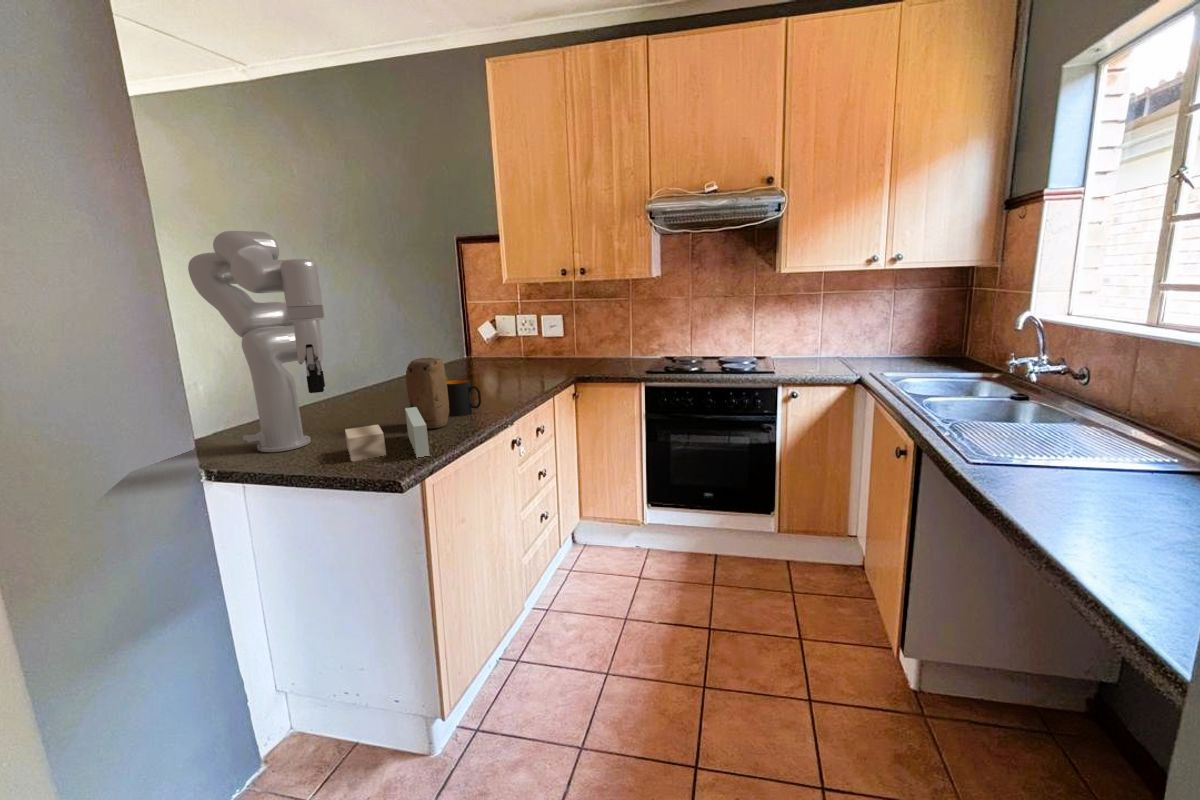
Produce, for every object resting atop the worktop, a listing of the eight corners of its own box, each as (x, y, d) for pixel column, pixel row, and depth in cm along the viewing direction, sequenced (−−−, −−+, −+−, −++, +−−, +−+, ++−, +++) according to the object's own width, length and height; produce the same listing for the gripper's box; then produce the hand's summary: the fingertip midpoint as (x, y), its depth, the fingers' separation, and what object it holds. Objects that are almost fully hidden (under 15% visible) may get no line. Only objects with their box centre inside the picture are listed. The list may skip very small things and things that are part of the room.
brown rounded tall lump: (453, 424, 167) (447, 357, 163) (437, 430, 161) (430, 361, 156) (423, 421, 171) (416, 356, 167) (407, 428, 164) (399, 360, 160)
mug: (477, 416, 175) (474, 384, 173) (441, 416, 178) (438, 384, 175) (487, 410, 183) (484, 379, 181) (452, 410, 185) (449, 379, 183)
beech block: (351, 462, 136) (348, 438, 135) (348, 451, 144) (344, 429, 143) (386, 456, 139) (383, 433, 138) (381, 446, 148) (378, 424, 147)
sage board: (417, 458, 136) (413, 426, 135) (408, 436, 156) (405, 408, 154) (429, 456, 137) (426, 424, 136) (419, 434, 157) (416, 406, 155)
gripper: (291, 313, 137) (302, 385, 141) (283, 317, 122) (296, 398, 125) (325, 311, 140) (335, 382, 144) (322, 314, 124) (333, 394, 128)
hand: (317, 389), depth 135 cm, fingers open, 5 cm apart
